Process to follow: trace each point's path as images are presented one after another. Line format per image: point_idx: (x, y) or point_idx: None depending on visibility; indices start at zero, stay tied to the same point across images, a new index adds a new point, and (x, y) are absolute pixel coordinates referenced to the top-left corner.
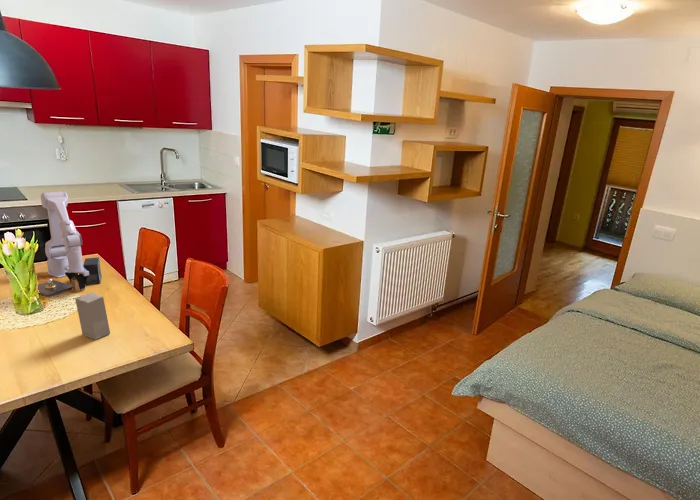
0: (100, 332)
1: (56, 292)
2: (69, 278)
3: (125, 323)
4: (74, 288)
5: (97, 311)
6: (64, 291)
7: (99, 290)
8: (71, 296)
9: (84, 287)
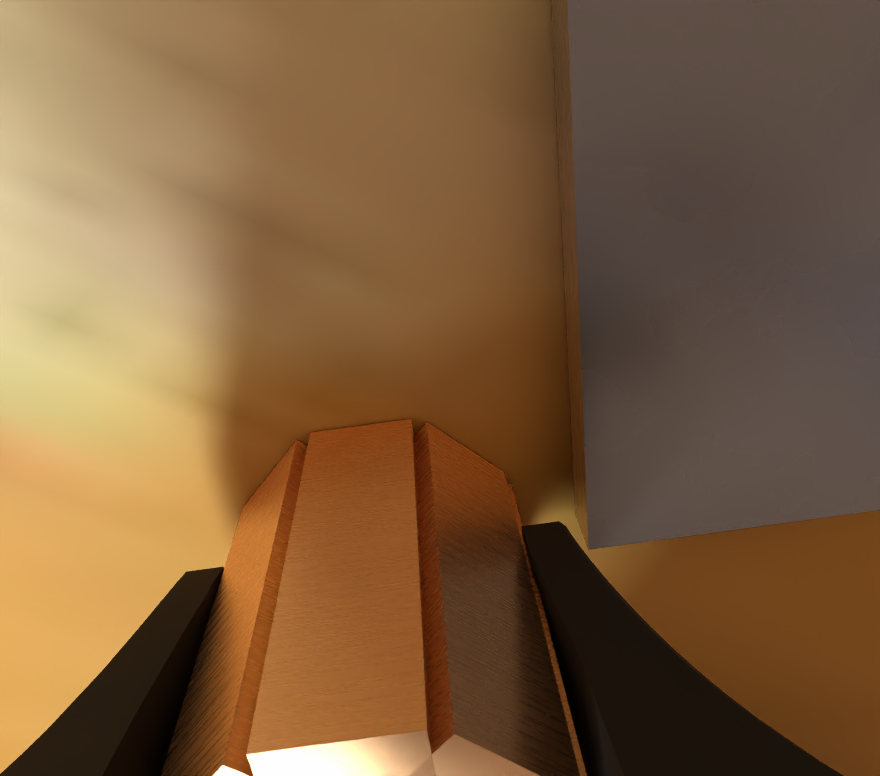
0: None
1: (563, 6)
2: (644, 712)
3: None
4: (316, 488)
5: None
6: (565, 271)
7: None
8: (29, 220)
9: None
